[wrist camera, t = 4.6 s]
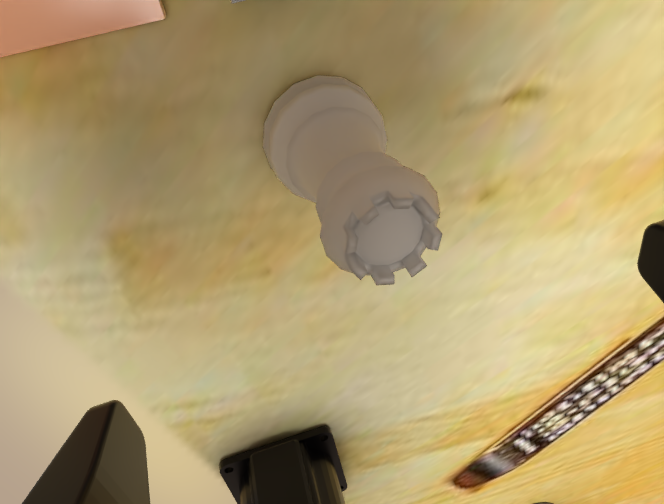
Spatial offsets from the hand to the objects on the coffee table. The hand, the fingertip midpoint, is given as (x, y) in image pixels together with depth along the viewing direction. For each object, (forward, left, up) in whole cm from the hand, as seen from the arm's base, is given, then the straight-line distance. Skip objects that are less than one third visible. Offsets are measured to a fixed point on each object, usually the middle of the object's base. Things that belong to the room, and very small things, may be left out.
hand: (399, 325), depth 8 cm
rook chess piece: (-1, -1, -12) cm, 12 cm away
